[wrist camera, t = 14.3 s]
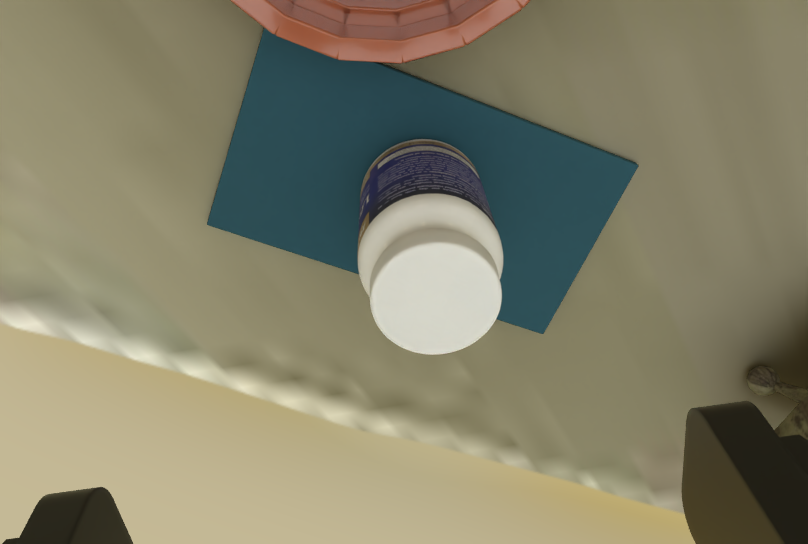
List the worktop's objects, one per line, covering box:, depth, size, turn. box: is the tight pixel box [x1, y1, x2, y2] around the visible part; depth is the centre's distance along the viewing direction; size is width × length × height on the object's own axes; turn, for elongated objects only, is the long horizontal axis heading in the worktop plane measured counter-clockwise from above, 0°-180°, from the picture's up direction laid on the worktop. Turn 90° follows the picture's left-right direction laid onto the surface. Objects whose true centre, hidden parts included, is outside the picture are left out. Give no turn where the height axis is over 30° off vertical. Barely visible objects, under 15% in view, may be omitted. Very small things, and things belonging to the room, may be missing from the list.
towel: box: [207, 28, 638, 334], centre depth 34 cm, size 18×10×1 cm, turn 69°
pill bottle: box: [357, 139, 503, 355], centre depth 30 cm, size 6×6×10 cm
